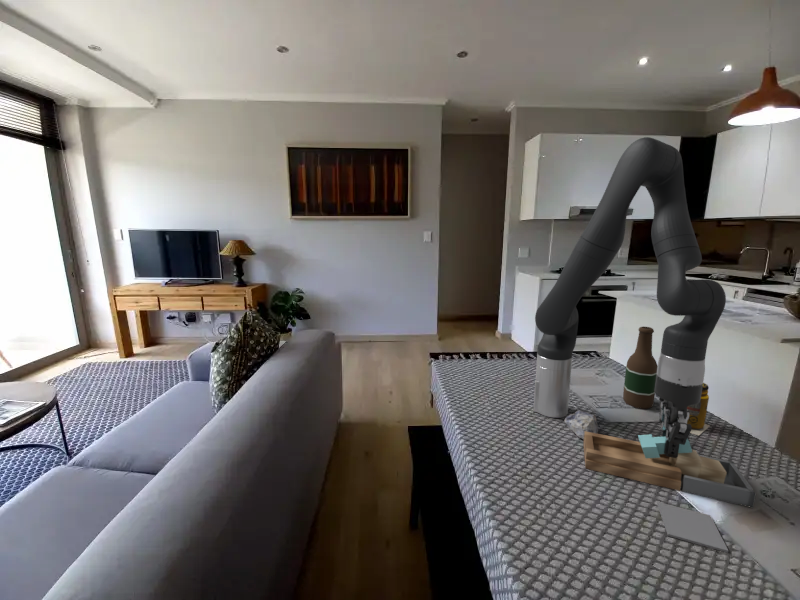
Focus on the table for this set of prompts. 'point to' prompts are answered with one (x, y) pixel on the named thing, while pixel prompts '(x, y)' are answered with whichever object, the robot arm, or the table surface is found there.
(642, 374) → the beer bottle
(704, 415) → the condiment
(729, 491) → the tray
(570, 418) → the mineral specimen
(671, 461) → the tan wooden cube
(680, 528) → the mat
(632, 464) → the slot board
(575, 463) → the table surface
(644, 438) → the teal t-shaped block
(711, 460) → the tan block
